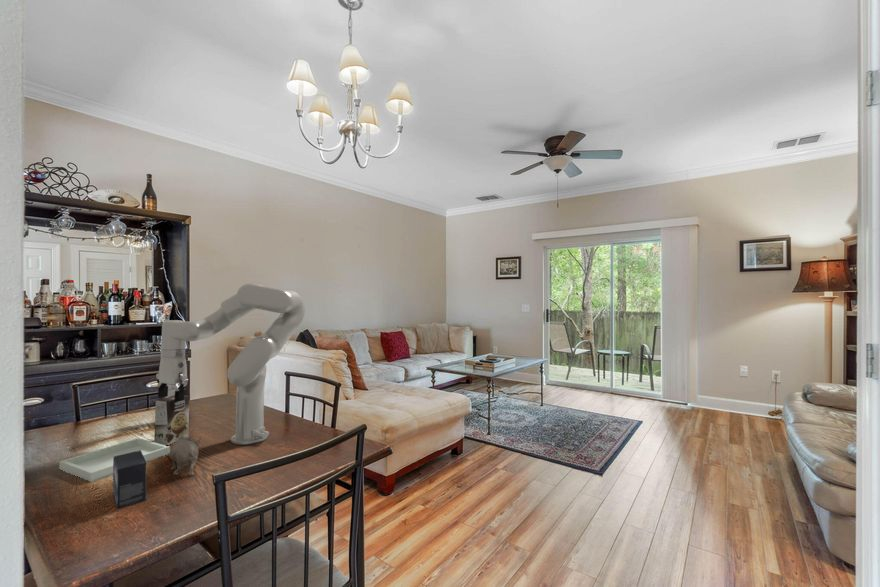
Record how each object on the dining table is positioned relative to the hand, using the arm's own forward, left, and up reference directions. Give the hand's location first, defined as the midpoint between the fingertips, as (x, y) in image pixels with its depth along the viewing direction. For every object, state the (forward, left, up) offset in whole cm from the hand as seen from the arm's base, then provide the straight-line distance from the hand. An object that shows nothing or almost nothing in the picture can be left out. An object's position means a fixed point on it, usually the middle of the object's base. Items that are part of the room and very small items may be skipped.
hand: (170, 399), depth 146 cm
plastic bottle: (+22, -14, -16) cm, 31 cm away
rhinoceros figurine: (-27, +11, -16) cm, 33 cm away
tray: (-4, +19, -16) cm, 25 cm away
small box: (-32, +30, -16) cm, 46 cm away
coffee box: (-1, 0, -16) cm, 16 cm away
